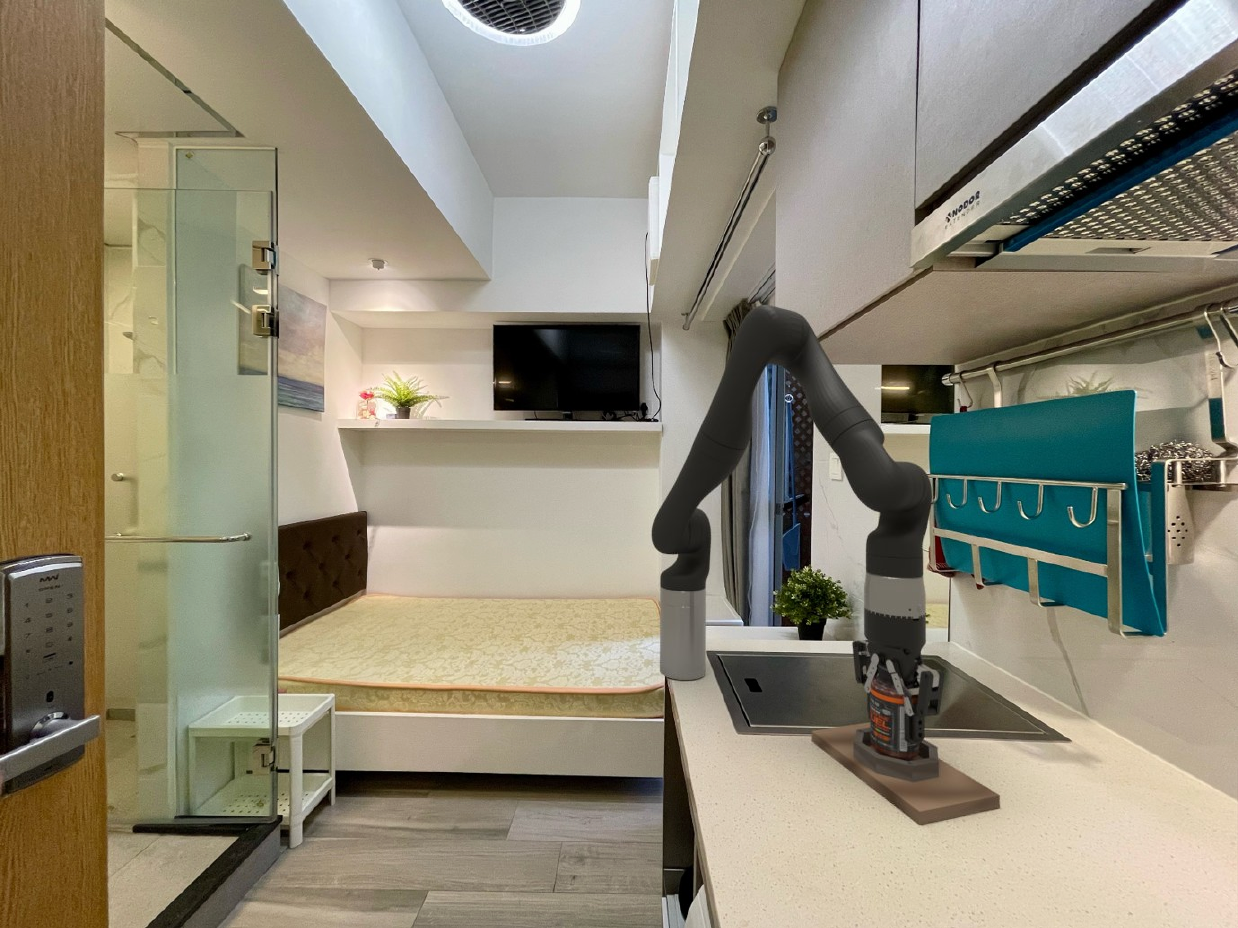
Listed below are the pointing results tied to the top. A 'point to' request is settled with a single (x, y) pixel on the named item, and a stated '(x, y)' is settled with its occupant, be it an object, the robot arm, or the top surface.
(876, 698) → the supplement bottle
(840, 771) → the top surface
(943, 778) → the socket board
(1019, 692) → the top surface
